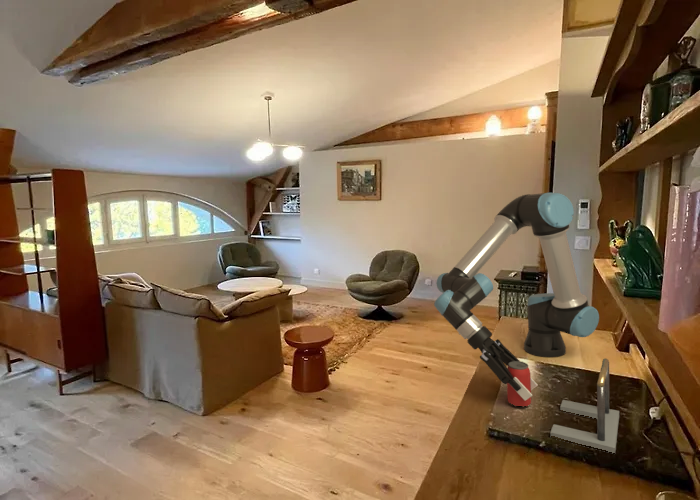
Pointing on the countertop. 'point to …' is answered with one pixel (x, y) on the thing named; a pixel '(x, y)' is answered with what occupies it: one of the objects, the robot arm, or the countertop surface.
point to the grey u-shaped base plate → (588, 437)
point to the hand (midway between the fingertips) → (531, 392)
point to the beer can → (523, 375)
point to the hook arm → (602, 399)
